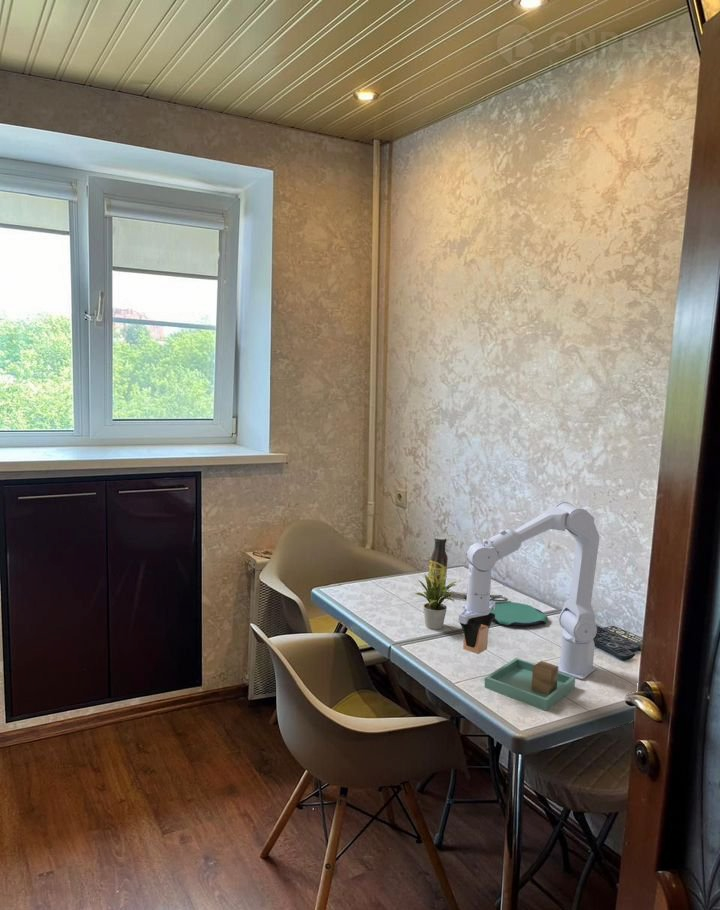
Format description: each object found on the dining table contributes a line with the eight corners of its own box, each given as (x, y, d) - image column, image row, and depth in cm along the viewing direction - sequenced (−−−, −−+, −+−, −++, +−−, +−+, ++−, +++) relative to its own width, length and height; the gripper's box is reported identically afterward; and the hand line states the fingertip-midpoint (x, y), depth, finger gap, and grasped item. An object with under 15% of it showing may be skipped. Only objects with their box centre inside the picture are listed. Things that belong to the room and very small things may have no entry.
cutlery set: (499, 631, 197) (500, 624, 196) (457, 599, 225) (457, 593, 225) (557, 627, 202) (558, 620, 202) (509, 596, 231) (509, 590, 231)
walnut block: (539, 683, 162) (541, 660, 161) (556, 690, 159) (558, 666, 158) (531, 689, 159) (533, 666, 158) (548, 696, 156) (550, 672, 155)
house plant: (457, 639, 189) (460, 584, 187) (409, 634, 191) (412, 580, 189) (460, 622, 203) (463, 570, 201) (415, 617, 205) (417, 566, 203)
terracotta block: (472, 644, 170) (473, 621, 170) (487, 649, 167) (488, 626, 167) (463, 649, 167) (464, 626, 166) (478, 654, 164) (479, 631, 163)
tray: (515, 666, 172) (516, 657, 172) (574, 687, 162) (575, 677, 162) (484, 687, 160) (485, 677, 160) (546, 710, 150) (546, 700, 150)
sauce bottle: (423, 592, 229) (426, 536, 227) (434, 588, 234) (437, 534, 231) (438, 597, 225) (441, 540, 222) (449, 593, 229) (452, 537, 226)
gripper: (479, 581, 173) (476, 631, 175) (449, 594, 162) (446, 646, 164) (503, 588, 169) (500, 638, 171) (474, 601, 158) (471, 655, 160)
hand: (475, 643), depth 167 cm, fingers closed on terracotta block, 4 cm apart
